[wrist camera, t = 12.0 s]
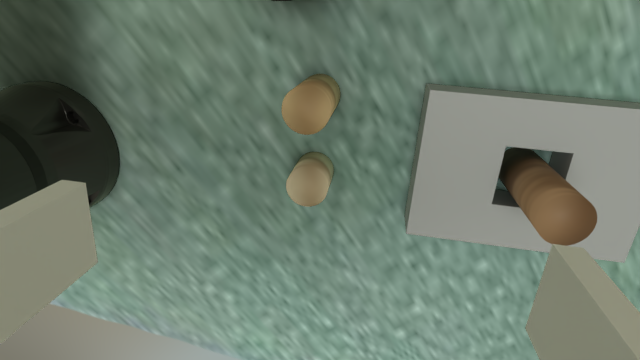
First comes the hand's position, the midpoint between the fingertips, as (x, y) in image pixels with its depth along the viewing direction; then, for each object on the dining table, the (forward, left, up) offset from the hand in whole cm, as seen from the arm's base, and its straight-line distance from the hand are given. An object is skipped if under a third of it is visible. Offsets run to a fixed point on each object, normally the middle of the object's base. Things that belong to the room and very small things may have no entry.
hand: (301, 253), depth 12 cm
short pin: (-4, -9, -31) cm, 32 cm away
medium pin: (-4, -1, -31) cm, 31 cm away
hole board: (+16, -6, -31) cm, 35 cm away
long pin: (+16, -6, -31) cm, 35 cm away
